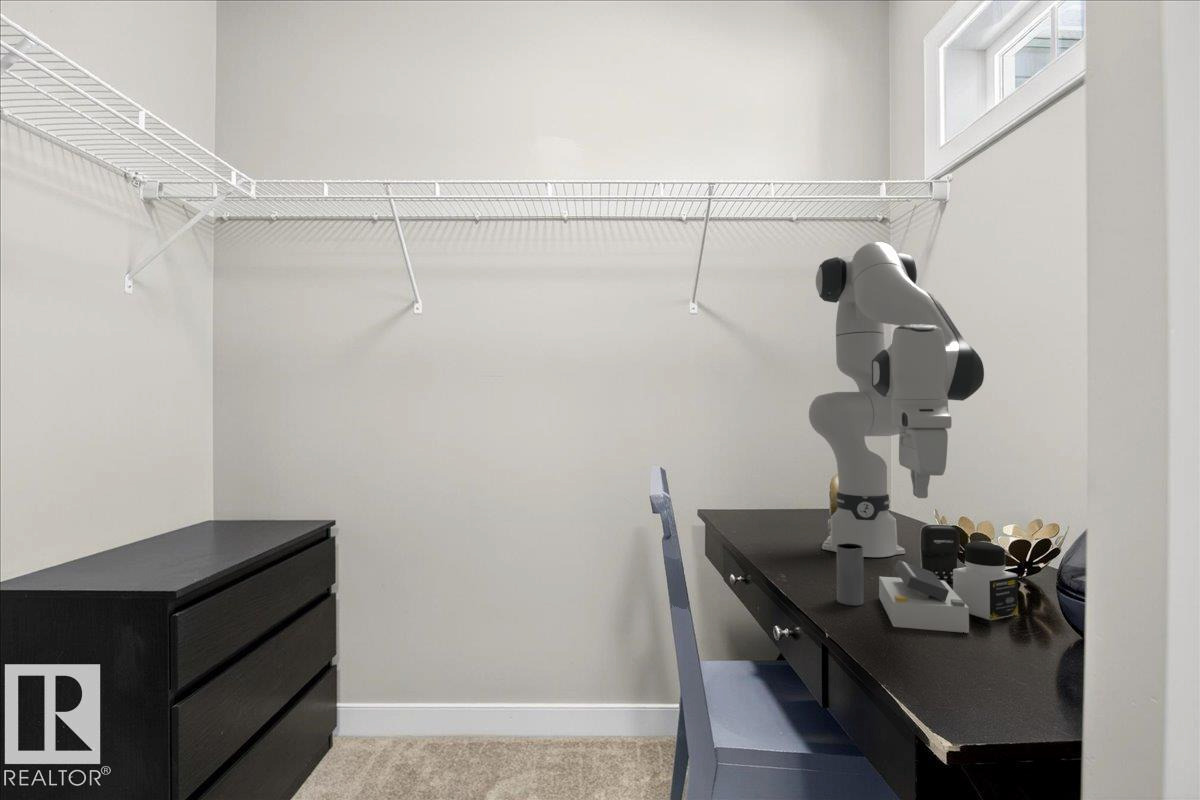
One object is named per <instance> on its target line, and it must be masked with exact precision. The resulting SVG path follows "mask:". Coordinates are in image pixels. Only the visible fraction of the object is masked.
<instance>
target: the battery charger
mask: <svg viewBox="0 0 1200 800" xmlns="http://www.w3.org/2000/svg"><path fill="white" fill-rule="evenodd" d="M952 526H953V525H950V524H944V523H943V524H942V523H938V524H937V523H927V524H923V525H922V526H921V527H920V530H919V555H920V556H919V557H920V568H923V569H926V570H928V571H931V572H933V573H934V574H935V575H936V577H937V578H938V579H939V580H943V581H945V582H946V583H953V570H954V569H957V568H958V553H960V551H961V548H960V547H961V546H960V544H961V543H960V532H959V531H958V530H957V528H955V526H953V527H952Z"/></svg>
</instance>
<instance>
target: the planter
mask: <svg viewBox="0 0 1200 800" xmlns="http://www.w3.org/2000/svg"><path fill="white" fill-rule="evenodd" d="M836 600H837V602H838V603H840V604H841V605H846V606H851V605H852V606H854V607H855V606H861V605H863V604H864V557H863V547H862V546H861V545H857V544H850V543H841V544H838V545H837V552H836ZM852 606H851V607H852Z"/></svg>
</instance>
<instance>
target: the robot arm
mask: <svg viewBox="0 0 1200 800" xmlns="http://www.w3.org/2000/svg"><path fill="white" fill-rule="evenodd" d="M917 280H918V269H917V265H916V262H915V260H914V258H913V257H912V256H911V255H909V254H906V253H899V252H896V250H895V248H893V247H892V246H891V245H890V244H888V243H885V242H883V241H882V242H881V241H873V242H869V243H867V244H865V245H863V246H861V247H860V248H859V249H857V250H856V252H855V253H854V255H850V256H849V255H848V256H844V257H843V256H842V257H838V256H835V257H832V258H827V259H826V260H823V261H822V262H821V264H819V267H818V270H817V271H816V274H815V287H816V290H817V293H818V295H819V298H821V299H822V300H823V301H824V302H827V303H828V302H829V303H835V304H836V303H838V305H837V311H836V312H837V313H836V319H835V320H836V322H835V346H836V347H835V351H836V352H835V353H836V358H835V359H836V366H837V368H838V369H839V371H840V372H841V373H842V374H843V375H845V376H847V377H849V378H851V379H852V380H853V381H854V382H855V384H856V385H857V388H858V391H834V392H829V393H824V394H820V395H819V394H818V395H817V396H816V397H815V398H814V399H813V400H812V402H811V404H810V406H809V410H808V419H809V423H810V425H811V427H812V429H813V430H814V431H815V432H816V433H817V434H818V435H820V436H821V437H822V438H823V439H824V440H825V441H826V442H827V443H828V445H829V446H830V447H831V449H832V452H833V454H834V456H835V461H836V466H837V467H836V468H837V481H838V484H837V485H838V486H837V487H838V491H837V492H836V497H835V500H836V501H835V502H836V507H837V509H836V510H835V512H833V513H832V515H831V516H830V518H828V520H827V529H828V530H829V531H828V537H826V539H825V540H824V542H823V544H822V545H821V548H822V550H824V551H825V550H826V551H830V552H835V553H837V545H838V544H841V543H850V544H857V545H861V546H862V547H863V558H886V557H891V556H896V555H904V554H906V551H905V548H904V547H902V546H901V545H898V535H897V534H898V531H897V530H898V529H897V519H896V517H894V516H893V515H892V514H891V513H890V511H889V510H890V502H891V501H890V495H889V493H888V466H887V463H886V462H885V460H884V459H883V458H882V457H881V456H880V455H878V454H877V453H875V452H873V451H871V450H870V449H869V448H868V446H867V444H866V440H865V437H890V436H891V437H893V436H897V435H899V437H898V462H899V465H900V466H901V467H904V468H906V469H907V470H909V471H910V478H911V484H912V495H914V497H916V498H918V499H927V498H928V497H929V491H928V490H929V489H928V488H929V486H930V485H929V483H930V480H931V476H944V474H945V471H946V467H947V457H948V444H949V443H948V442H949V440H948V438H949V436H948V435H949V434H948V430H949V429H951V428H952V424H953V423H952V422H953V421H952V415H951V414H950V412H949V401H962V402H963V401H965V400H967V399H968V398H970V397H971V396H972V395H974V394H975V393H976V392H977V391H978V390H980V388H981V387H982V385H983V383H984V379H985V369H984V363H983V361H982V358H981V357H980V355H979V354H978V352H976V350H975V349H974V348H972V346H970V344H968V342H966V340H965V339H964V337H963V336H962V334H961V332H960V331H959V330H958V328H957V327H956V325H955V323H954V322H953V321H952V319H951V317H950V316H949V314H948V312H947V311H946V309H945V308H944V307H943V305H942V304H941V303H940V301H939V300H938V299H937V297H935V296H934V295H933V294H931V293H929V292H928V291H926V290H923V289H922V288H921V287H919V286H918V285H917V283H916V282H917ZM884 324H887V325H895V326H897V327H895V328H894V329H893V333H892V340H891V344H890V345H889V346H888V348H887V349H886V348H885V347H886V346H885V326H884Z"/></svg>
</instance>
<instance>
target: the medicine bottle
mask: <svg viewBox="0 0 1200 800" xmlns="http://www.w3.org/2000/svg"><path fill="white" fill-rule="evenodd" d="M964 565H965V566H964V567H959V568H958V567H957V569H954V570H953V582H952V590H953V591H954V592H955V593H956V594H957V595H958V596H959V597H960V598H961V600H962V601H963V602H964V603H965V604H966V605H967V606H968V607H969V615H972V616H974V617H978V618H982V619H984V620H988V621H995V620H1000V619H1006V618H1009V617H1010V616H1011V617H1015V616H1017V615H1018V614H1019V596H1018V594H1019V592H1018V591H1019V589H1018V588H1019V580H1018V574H1017V573H1014V572H1011V571H1006V570H1005V569H1006V549H1005V547H1003V546H1002V545H1000V544H998V543H996V542H991V541H985V540H984V541H983V540H982V541H981V540H980V541H979V540H976V541H974V540H973V541H970V542H967V543H966V544H964ZM1014 615H1015V616H1014ZM1005 617H1006V618H1005Z"/></svg>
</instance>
